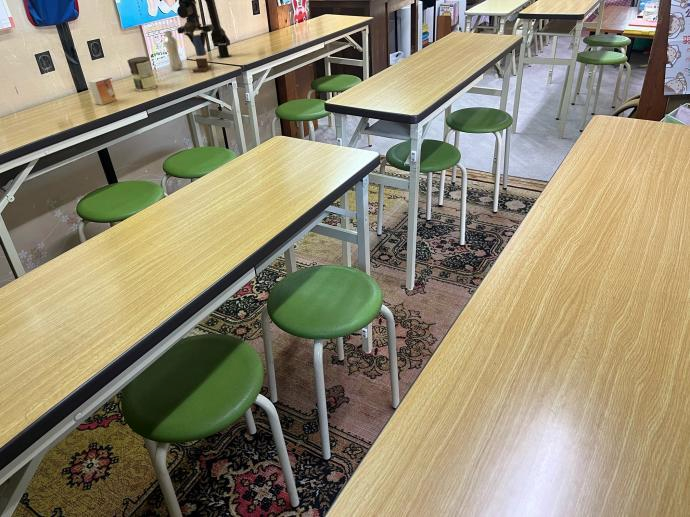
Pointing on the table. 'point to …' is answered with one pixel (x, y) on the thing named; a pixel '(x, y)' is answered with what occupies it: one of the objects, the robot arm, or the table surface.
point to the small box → (102, 90)
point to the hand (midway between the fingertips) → (199, 45)
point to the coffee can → (142, 73)
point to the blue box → (199, 45)
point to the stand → (201, 65)
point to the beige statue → (172, 51)
